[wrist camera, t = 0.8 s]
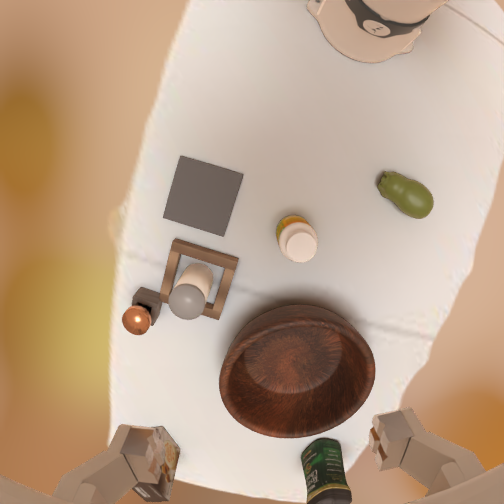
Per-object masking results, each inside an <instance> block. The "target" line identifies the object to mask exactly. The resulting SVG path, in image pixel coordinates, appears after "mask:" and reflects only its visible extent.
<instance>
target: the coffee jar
mask: <svg viewBox="0 0 504 504" xmlns="http://www.w3.org/2000/svg"><path fill="white" fill-rule="evenodd" d="M301 460H302V466H303V470H304V475H305V480H306V485H307V504H350V503H351V502H352V498H351V497H352V496H351V490H350V488H349V486H348V485H347V482H346V479H345V472H344V466H343V459H342V452H341V446H340V444H339V443H338V442H336V441H334V440H330V439H321V440H316V441H315V442H313V443H312V444H311V445H310V446H309V447H308V448H307V449H306V450H305V451H304V452H303V454H302V456H301Z"/></svg>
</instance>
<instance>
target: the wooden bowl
mask: <svg viewBox="0 0 504 504" xmlns="http://www.w3.org/2000/svg"><path fill="white" fill-rule="evenodd" d="M374 380H375V361H374V357H373V354H372V351H371V349H370V347H369V345H368V344H367V342H366V341H365V340H364V338H363V337H362V336H361V335H360V334H359V333H358V332H357V330H356V329H355V328H354V327H353V326H351V325H350V324H349V323H348V322H347V321H346V320H344V319H343V318H342V317H340V316H338V315H337V314H335V313H333V312H331V311H329V310H326V309H323V308H320V307H316V306H311V305H288V306H283V307H279V308H275V309H273V310H270V311H268V312H265V313H263V314H261V315H260V316H258V317H256V318H255V319H254V320H252V321H251V322H250V323H248V324H247V325H246V326H245V327H244V328H243V329H242V330H241V332H240V333H239V334H238V335H237V337H236V338H235V339H234V341H233V343H232V344H231V346H230V348H229V350H228V352H227V355H226V357H225V359H224V362H223V365H222V368H221V372H220V377H219V389H220V394H221V398H222V401H223V403H224V405H225V407H226V409H227V410H228V412H229V413H230V414H231V415H232V417H233V418H234V419H236V420H237V421H238V422H239V423H240V424H242V425H243V426H245V427H246V428H248V429H250V430H252V431H254V432H257V433H260V434H263V435H266V436H271V437H277V438H301V437H308V436H312V435H316V434H320V433H323V432H325V431H328V430H330V429H332V428H334V427H336V426H338V425H340V424H341V423H343V422H344V421H346V420H347V419H349V418H350V417H351V416H352V415H353V414H355V413H356V412H357V411H358V410H359V408H360V407H361V406H362V405H363V404H364V402H365V401H366V399H367V398H368V396H369V394H370V392H371V390H372V387H373V384H374Z"/></svg>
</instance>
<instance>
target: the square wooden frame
mask: <svg viewBox="0 0 504 504" xmlns="http://www.w3.org/2000/svg"><path fill="white" fill-rule="evenodd" d="M181 254H183V255H186V256H189V257H192V258H195V259H199V260H202V261H205V262H208V263H211V264H214V265H217V266H221V267H224V268H225V271H224V274H223V277H222V280H221V284H220V287H219V290H218V293H217V296H216V300H215V303H214V304H211V303H208V302H206V304H205V307H204V310H203V312H202V314H201V315H204V316H207V317H210V318H214V319H217V320H219V318H220V315H221V312H222V309H223V306H224V303H225V300H226V297H227V294H228V291H229V287H230V284H231V281H232V278H233V275H234V272H235V269H236V266H237V263H238V258H236V257H233V256H229V255H226V254H223V253H220V252H217V251H214V250H211V249H207V248H204V247H201V246H198V245H195V244H192V243H189V242H185V241H182V240H179V239H175V240H174V241H173V242H172V246H171V250H170V254H169V258H168V262H167V266H166V270H165V274H164V278H163V282H162V287H161V291H160V293H158V292H155V291H152V290H149V289H146V288H143V287H141V288H140V289H139V290H138V291H137V292H136V294H135V295H134V296H133V301H132V306H134V305H137V306H141V305H142V304H145V305H147V306H150V307H152V309H151V308H149V309H150V310H149V314H150V316H151V326H153V325H154V323H155V321H156V320H157V318H158V316H159V314H160V309H161V305H162V302H164V303H167V304H169V302H168V300H169V296H170V294H171V292H172V287H173V283H174V279H175V275H176V271H177V267H178V264H179V260H180V256H181Z"/></svg>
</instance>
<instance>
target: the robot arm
mask: <svg viewBox="0 0 504 504" xmlns="http://www.w3.org/2000/svg"><path fill="white" fill-rule="evenodd" d="M316 1H319V2H320V3H317V2H316ZM447 1H449V0H310V1H309V2H308V4H307V9H308V11H309V12H310V13H311V14H312V15H313V16H314V17H315V18H316V19H317V21H318V22H319V25H320V27H321V30H322V32H323V34H324V36H325V37H326V39H327V40H328V41H329V42H330V44H331V45H332V46H333V47H334V48H336V49H337V50H338V51H339V52H341V53H342V54H344V55H346V56H347V57H349V58H352V59H354V60H357V61H361V62H366V63H377V62H382V61H385V60H387V59H389V58H391V57H392V56H394V55H396V54H406V53H409V52H410V51H411V50H412V49H413V40H414V39H416V38H417V37H418V36H419V35H420V33H421V29H420V27H421V26H422V25H423V24H424V22H425V21H426V20H427V19H428V17H429V16H430V14H431V13H432V12H434V11H435V10H436V9H438V8H439V7H440V6H442V5H443V4H445V3H446V2H447ZM372 423H373V427H372V428H371V429H370V433H369V443H370V447H371V450H372V452H374V453H376V457H375V461H376V464H377V466H378V469H379V471H383V470H388V469H392V468H396V467H400V468H401V469H402V470H403V471H405V472H406V473H408V474H409V475H410V476H412V477H413V478H414V479H416V480H417V481H418V482H420V483H421V484H423V485H424V486H425V487H427V488H428V489H429V490H428V492H427V494H426V495H425V497H424V498H421V499H418V500H415V501H412V502H408V503H405V504H504V463H502V464H500V465H498V466H496V467H495V468H493V469H491V470H489V471H487V472H486V471H485V469H484V468H483V466H482V465H481V463H480V461H479V460H478V458H477V457H476V455H475V454H474V452H471V451H469V450H467V449H465V448H463V447H461V446H458V445H456V444H454V443H452V442H450V441H448V440H446V439H443V438H441V437H439V436H437V435H435V434H433V433H431V432H428V433H426V431H425V429H424V428H423V426H422V424H421V422H420V421H419V419H418V418H417V416H416V414H415V413H414V411H413V409H412V408H411V407H408V408H404V409H399V410H395V411H391V412H386V413H381V414H377V415H374V417H373V420H372ZM159 438H160V432H159V430H158V429H157V428H152V427H143V426H134V425H125V424H121V425H120V426H119V427H118V429H117V431H116V433H115V435H114V437H113V440H112V442H111V444H110V446H109V448H108V450H107V451H103V452H101V453H100V454H98V455H96V456H95V457H93V458H92V459H90V460H88V461H86V462H85V463H83V464H82V465H80V466H78V467H77V468H75V469H73V470H71V471H70V472H68V473H66V474H64V475H63V476H62V478H61V480H60V481H59V483H58V485H57V487H56V489H55V491H54V493H53V495H52V496H50V495H47V494H45V493H42V492H40V491H37V490H34V489H32V488H30V487H27V486H25V485H22V484H20V483H18V482H15V481H13V480H11V479H9V478H6V477H5V476H2V475H0V504H115V503H116V502H117V501H118V500H119V499H120V498H122V497H123V496H124V495H125V494H126V493H127V492H128V491H129V490H131V489H132V488H133V487H134V486H135V485H136V484H137V483H138V482H145V483H154V484H158V483H159V479H160V476H161V472H162V471H161V469H160V466H161V465H162V464H164V461H165V446H164V443H163V441H161V440H160V439H159Z"/></svg>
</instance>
